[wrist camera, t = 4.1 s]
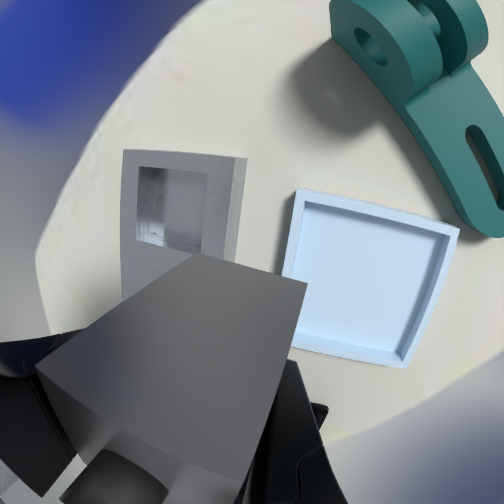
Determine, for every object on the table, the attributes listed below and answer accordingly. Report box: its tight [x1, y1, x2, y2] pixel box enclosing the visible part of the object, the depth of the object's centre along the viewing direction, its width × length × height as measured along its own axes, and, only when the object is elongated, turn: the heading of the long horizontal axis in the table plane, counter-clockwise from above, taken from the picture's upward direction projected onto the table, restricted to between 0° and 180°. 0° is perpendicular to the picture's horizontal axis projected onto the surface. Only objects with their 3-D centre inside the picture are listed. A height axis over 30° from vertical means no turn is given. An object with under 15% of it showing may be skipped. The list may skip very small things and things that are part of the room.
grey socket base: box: [120, 149, 247, 302], centre depth 19 cm, size 18×9×9 cm, turn 172°
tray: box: [282, 188, 460, 369], centre depth 19 cm, size 11×11×2 cm
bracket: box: [329, 0, 504, 238], centre depth 11 cm, size 18×7×8 cm, turn 37°
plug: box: [35, 252, 308, 504], centre depth 6 cm, size 4×4×9 cm
